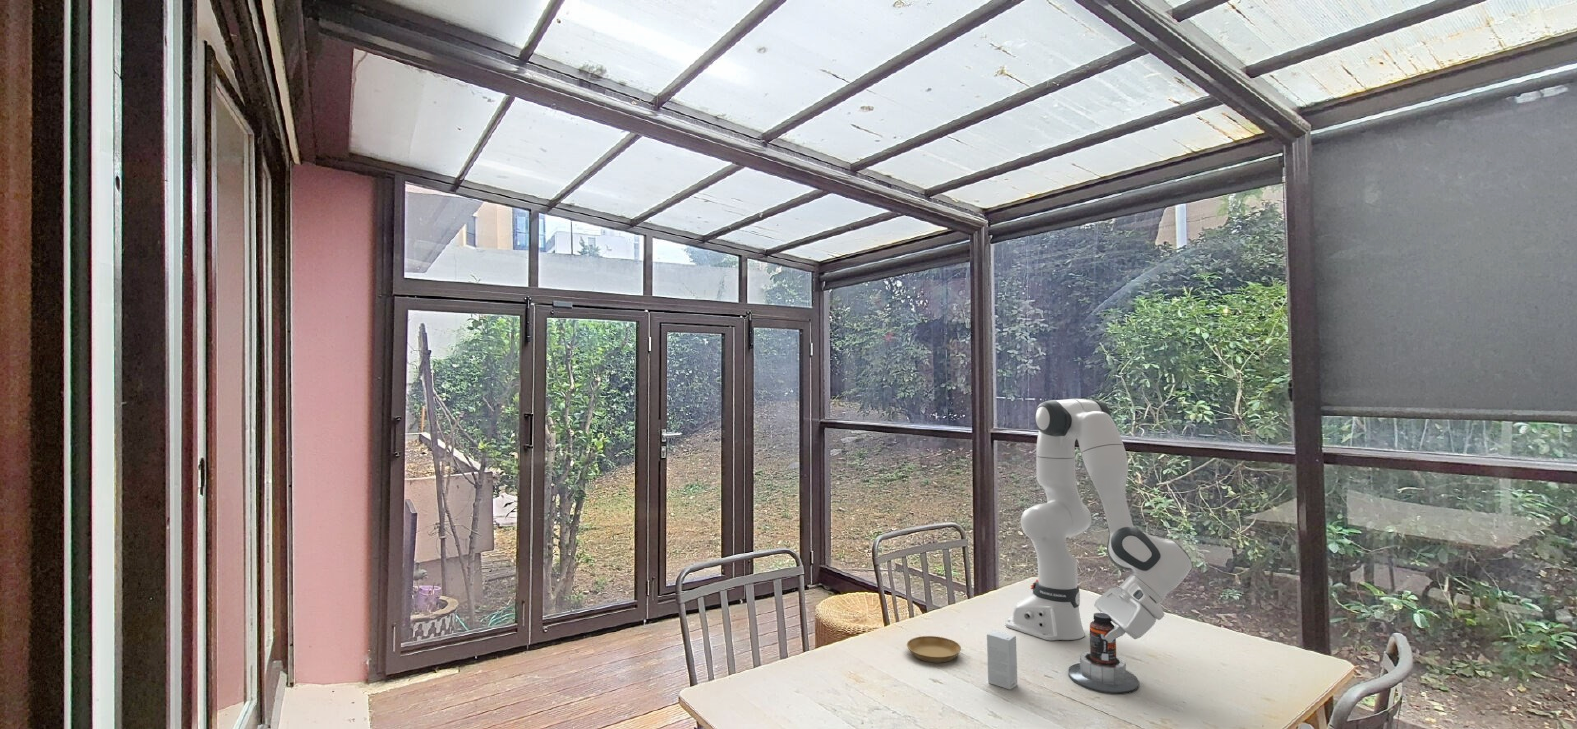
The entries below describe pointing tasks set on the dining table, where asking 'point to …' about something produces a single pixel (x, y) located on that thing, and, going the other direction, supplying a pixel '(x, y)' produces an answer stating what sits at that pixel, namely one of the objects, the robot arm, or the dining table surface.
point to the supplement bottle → (1102, 640)
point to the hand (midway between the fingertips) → (1100, 634)
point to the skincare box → (1002, 659)
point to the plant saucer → (934, 648)
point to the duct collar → (1103, 676)
